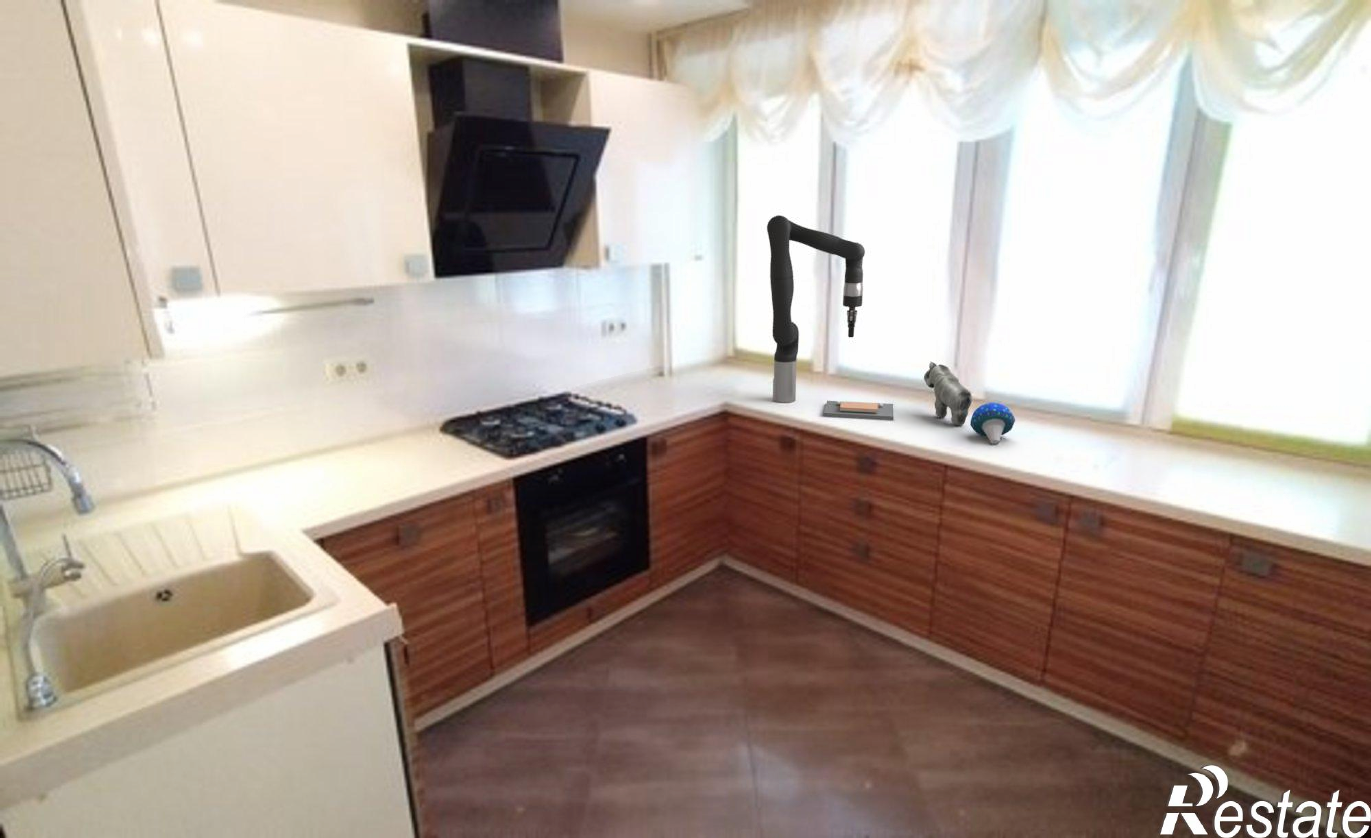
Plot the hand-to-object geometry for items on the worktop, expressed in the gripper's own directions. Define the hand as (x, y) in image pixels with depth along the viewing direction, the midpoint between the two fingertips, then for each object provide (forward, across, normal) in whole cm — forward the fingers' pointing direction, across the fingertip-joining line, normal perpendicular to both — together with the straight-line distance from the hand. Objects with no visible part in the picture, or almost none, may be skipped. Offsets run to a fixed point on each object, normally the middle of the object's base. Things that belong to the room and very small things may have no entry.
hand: (850, 337), depth 271 cm
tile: (+24, +18, +5) cm, 30 cm away
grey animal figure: (+27, +19, +36) cm, 49 cm away
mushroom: (+27, +40, +50) cm, 70 cm away
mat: (+27, +16, +5) cm, 32 cm away
